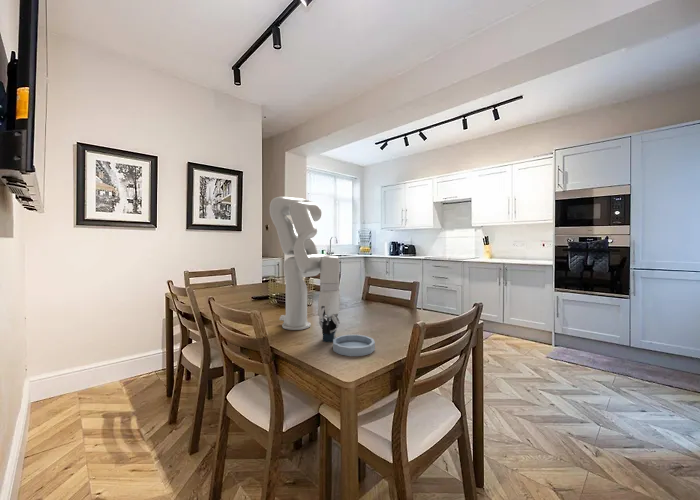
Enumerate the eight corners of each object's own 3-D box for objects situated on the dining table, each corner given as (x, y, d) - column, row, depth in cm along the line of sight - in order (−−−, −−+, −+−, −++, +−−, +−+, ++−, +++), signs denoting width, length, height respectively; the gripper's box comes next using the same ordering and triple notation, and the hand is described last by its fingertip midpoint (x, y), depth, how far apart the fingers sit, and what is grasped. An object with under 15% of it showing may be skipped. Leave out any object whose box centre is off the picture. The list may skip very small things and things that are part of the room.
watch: (338, 342, 126) (338, 314, 125) (318, 341, 126) (318, 313, 126) (340, 337, 131) (340, 310, 131) (320, 336, 132) (320, 310, 131)
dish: (325, 351, 115) (325, 343, 115) (344, 339, 129) (344, 332, 129) (364, 359, 109) (364, 350, 109) (380, 345, 122) (380, 338, 122)
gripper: (331, 283, 137) (331, 326, 138) (309, 289, 122) (309, 337, 123) (347, 284, 134) (347, 328, 135) (327, 291, 119) (327, 340, 120)
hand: (329, 332), depth 129 cm, fingers closed on watch, 4 cm apart
